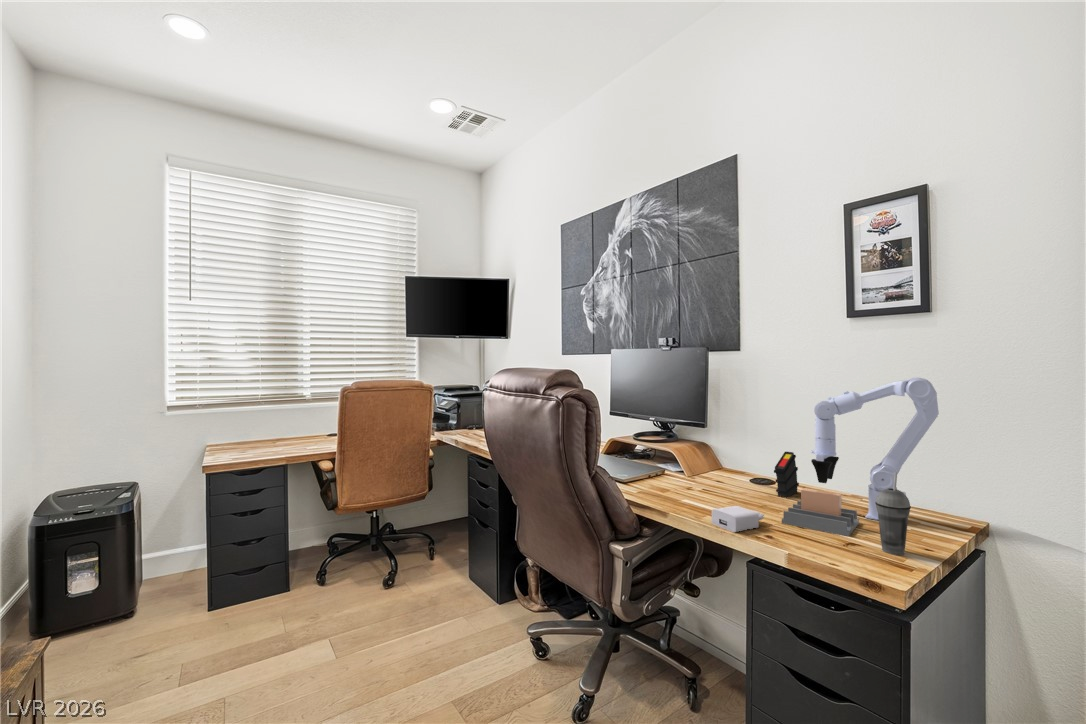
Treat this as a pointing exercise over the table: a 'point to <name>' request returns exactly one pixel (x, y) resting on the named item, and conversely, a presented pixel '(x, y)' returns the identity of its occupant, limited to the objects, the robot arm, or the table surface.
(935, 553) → the table surface
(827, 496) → the plate
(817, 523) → the rack
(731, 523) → the charger
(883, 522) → the beverage cup
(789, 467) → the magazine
